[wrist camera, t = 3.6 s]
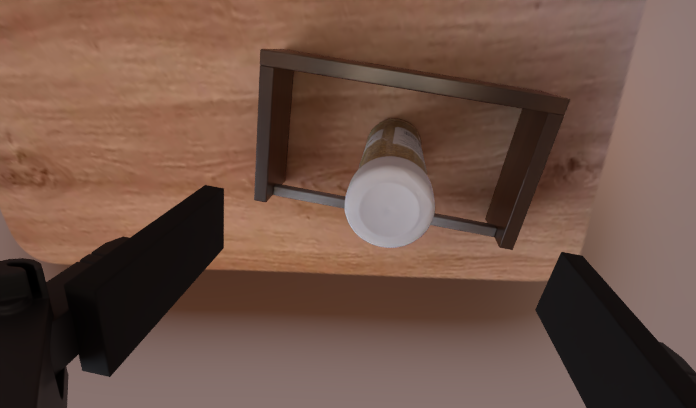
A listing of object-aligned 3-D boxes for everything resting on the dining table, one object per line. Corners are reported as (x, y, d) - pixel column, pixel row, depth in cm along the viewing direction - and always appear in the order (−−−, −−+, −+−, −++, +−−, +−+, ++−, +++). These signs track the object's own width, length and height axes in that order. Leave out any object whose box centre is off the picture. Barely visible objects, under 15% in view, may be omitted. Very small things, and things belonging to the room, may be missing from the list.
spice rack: (542, 91, 27) (570, 99, 22) (496, 221, 31) (512, 250, 27) (282, 49, 28) (260, 48, 24) (274, 179, 33) (253, 200, 28)
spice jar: (359, 128, 30) (329, 182, 18) (412, 109, 29) (420, 153, 16) (377, 178, 31) (361, 260, 19) (428, 162, 30) (446, 238, 18)
